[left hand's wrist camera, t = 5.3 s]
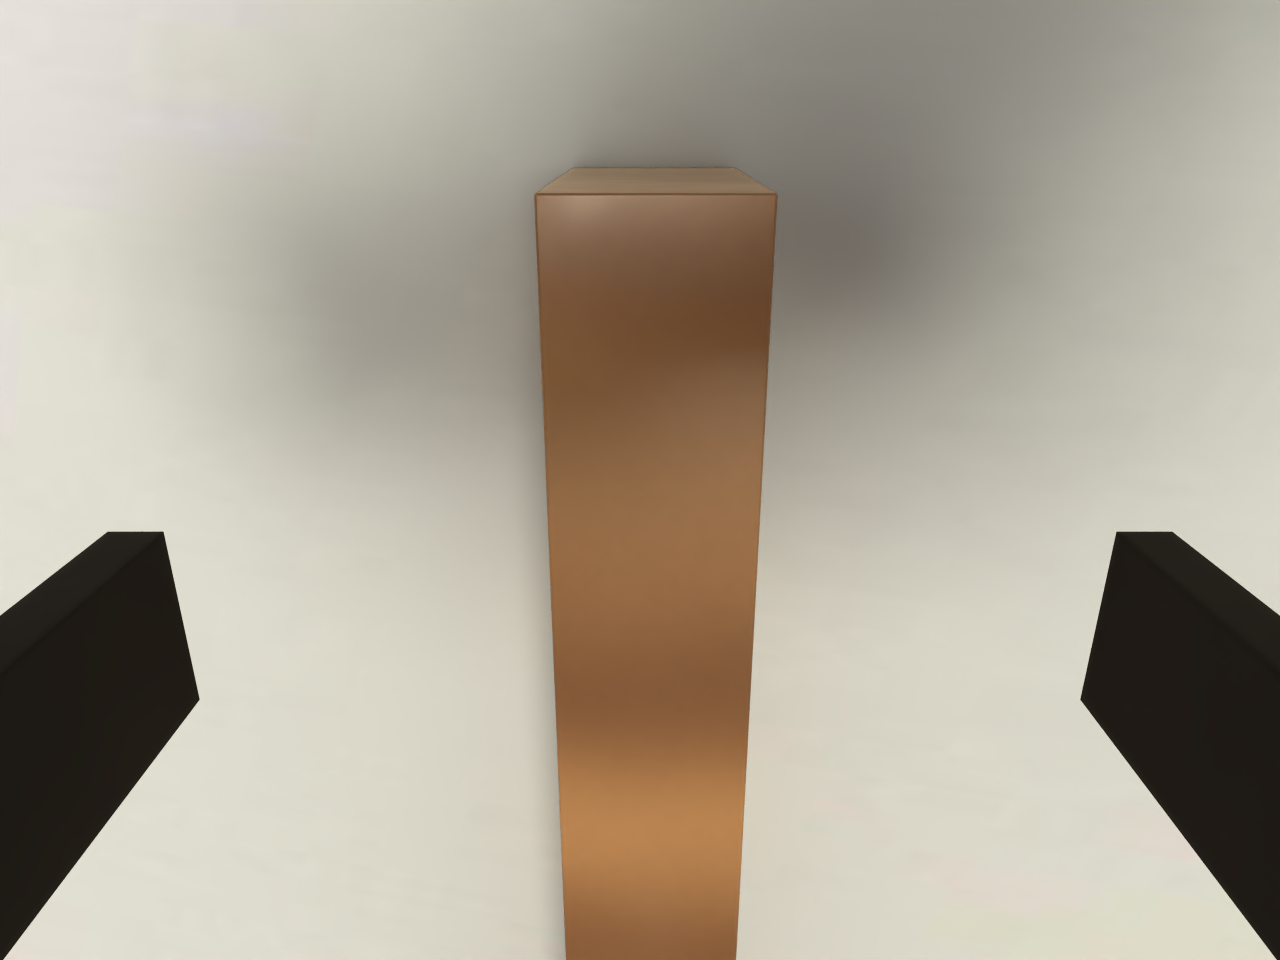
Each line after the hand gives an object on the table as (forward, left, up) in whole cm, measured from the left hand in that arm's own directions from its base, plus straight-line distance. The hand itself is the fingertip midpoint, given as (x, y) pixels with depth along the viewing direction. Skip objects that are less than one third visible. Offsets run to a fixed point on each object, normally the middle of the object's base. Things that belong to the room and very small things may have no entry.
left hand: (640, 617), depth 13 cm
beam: (+12, +22, -15) cm, 29 cm away
